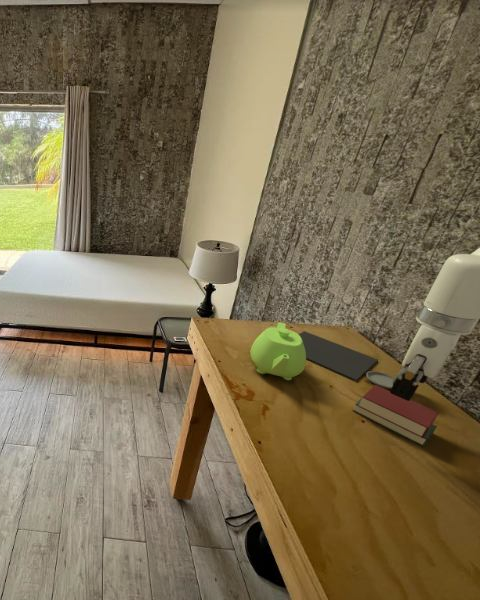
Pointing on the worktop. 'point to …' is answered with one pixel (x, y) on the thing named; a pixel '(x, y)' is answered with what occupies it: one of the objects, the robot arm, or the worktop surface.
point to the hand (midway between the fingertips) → (406, 387)
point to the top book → (398, 410)
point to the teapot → (279, 352)
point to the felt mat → (336, 356)
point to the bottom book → (395, 426)
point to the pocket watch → (382, 379)
